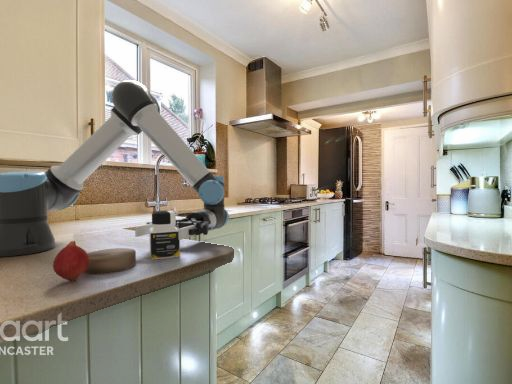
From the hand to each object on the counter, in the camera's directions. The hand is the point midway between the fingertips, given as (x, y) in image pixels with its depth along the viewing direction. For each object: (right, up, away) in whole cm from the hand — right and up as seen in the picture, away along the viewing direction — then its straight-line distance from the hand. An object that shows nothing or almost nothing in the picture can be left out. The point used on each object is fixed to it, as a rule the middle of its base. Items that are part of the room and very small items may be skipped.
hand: (157, 232), depth 70 cm
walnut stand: (-8, -7, -7) cm, 13 cm away
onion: (-11, -7, -17) cm, 21 cm away
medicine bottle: (+1, -7, +3) cm, 7 cm away
